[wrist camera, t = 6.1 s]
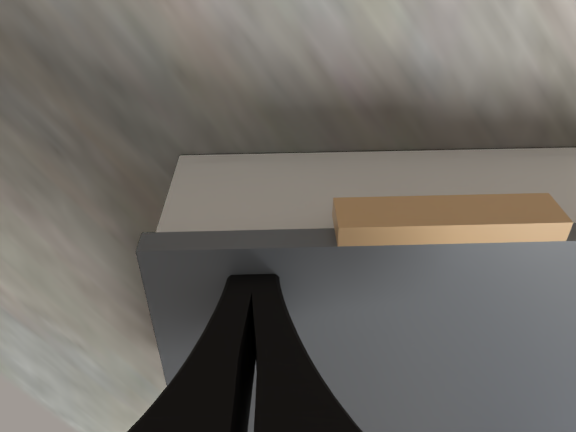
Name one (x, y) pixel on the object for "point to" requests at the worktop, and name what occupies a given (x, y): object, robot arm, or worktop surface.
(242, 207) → the storage box
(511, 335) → the lid
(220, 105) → the worktop surface
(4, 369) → the worktop surface
